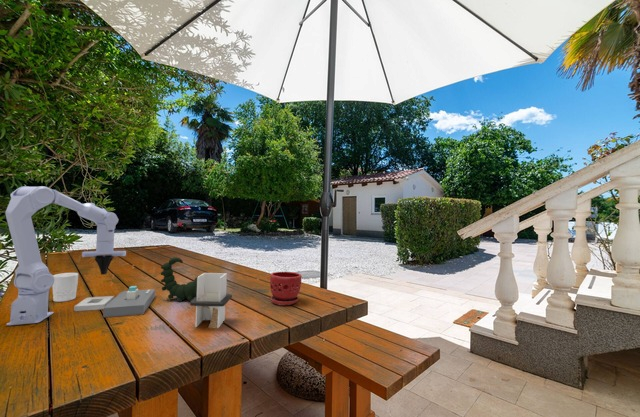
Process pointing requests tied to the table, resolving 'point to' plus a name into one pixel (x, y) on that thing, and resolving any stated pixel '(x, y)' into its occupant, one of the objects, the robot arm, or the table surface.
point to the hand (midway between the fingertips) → (103, 274)
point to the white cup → (65, 286)
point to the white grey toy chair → (211, 298)
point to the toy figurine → (174, 288)
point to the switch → (129, 304)
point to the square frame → (93, 303)
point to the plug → (132, 293)
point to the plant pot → (285, 287)
